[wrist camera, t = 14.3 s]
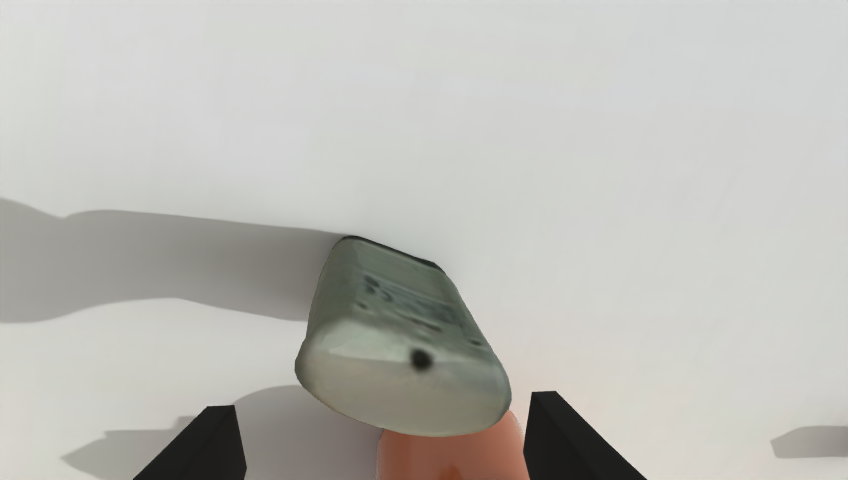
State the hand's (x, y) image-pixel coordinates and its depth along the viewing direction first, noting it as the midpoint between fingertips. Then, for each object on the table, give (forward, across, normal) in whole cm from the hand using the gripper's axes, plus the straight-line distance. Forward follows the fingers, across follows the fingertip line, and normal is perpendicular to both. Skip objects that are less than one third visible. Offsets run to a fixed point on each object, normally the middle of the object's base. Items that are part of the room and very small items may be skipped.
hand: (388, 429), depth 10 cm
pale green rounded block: (+8, 0, 0) cm, 8 cm away
